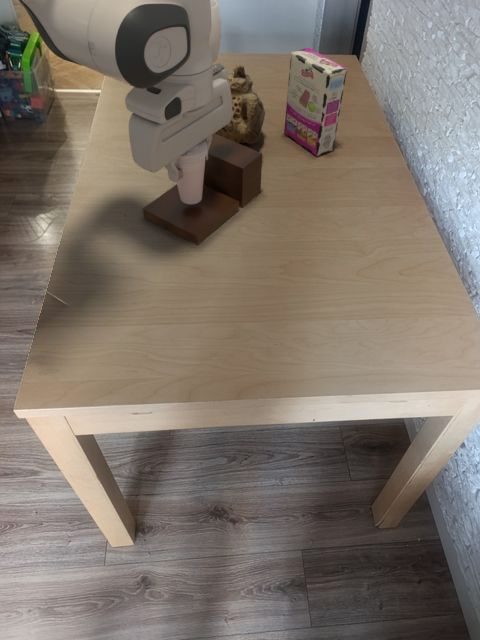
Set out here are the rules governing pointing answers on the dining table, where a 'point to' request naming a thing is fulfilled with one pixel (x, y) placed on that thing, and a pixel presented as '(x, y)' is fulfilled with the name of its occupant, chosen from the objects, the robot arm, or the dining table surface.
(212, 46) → the white vase
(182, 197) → the smoothie
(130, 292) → the dining table surface
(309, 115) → the candy bar box
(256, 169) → the step shelf
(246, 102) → the teapot
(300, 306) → the dining table surface
